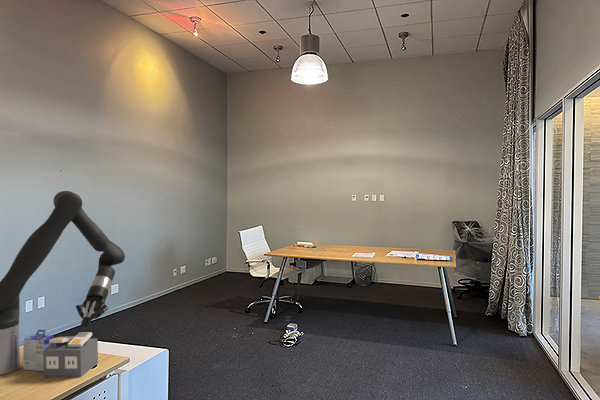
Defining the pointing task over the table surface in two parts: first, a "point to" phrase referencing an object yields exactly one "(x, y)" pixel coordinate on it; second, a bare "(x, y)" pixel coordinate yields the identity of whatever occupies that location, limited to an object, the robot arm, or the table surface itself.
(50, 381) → the table surface
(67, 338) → the inner rocker
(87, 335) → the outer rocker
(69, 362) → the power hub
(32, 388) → the table surface
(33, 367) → the ink cartridge box
